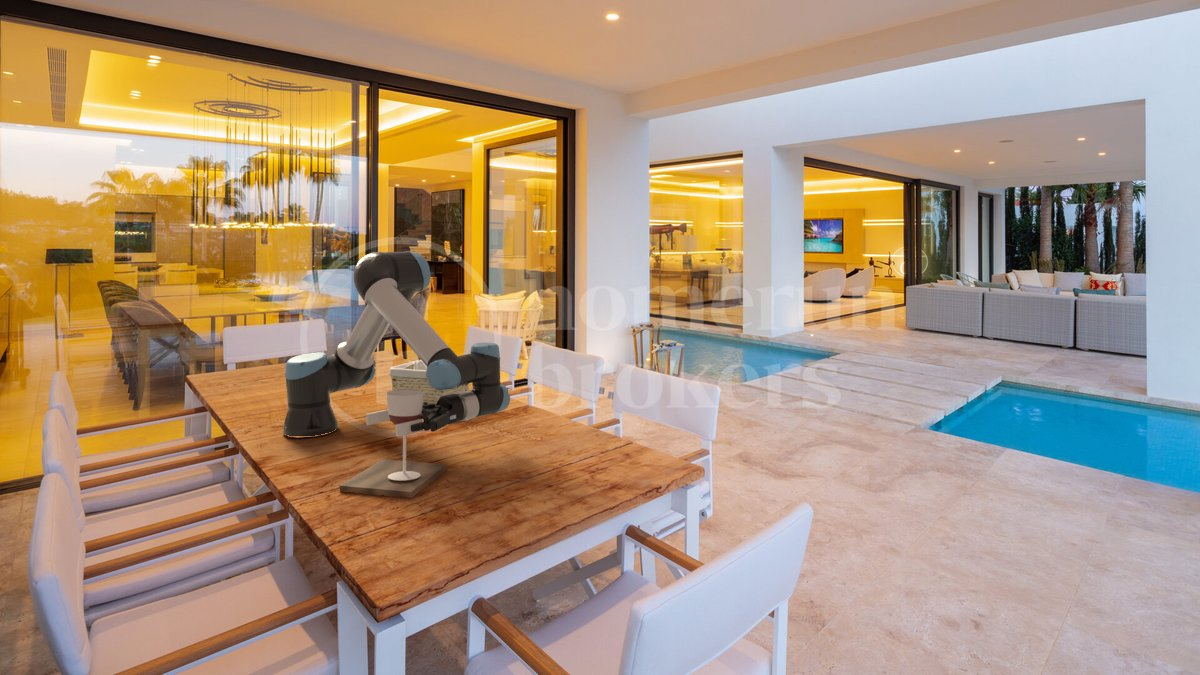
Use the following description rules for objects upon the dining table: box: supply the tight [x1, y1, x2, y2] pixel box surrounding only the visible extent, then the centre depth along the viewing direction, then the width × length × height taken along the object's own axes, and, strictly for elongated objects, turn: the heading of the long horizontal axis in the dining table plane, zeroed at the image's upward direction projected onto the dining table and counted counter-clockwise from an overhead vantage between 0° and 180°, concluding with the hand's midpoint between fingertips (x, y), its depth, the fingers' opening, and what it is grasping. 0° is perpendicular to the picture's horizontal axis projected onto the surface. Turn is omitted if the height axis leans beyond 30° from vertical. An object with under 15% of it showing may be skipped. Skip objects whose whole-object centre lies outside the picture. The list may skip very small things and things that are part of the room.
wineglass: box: [386, 390, 423, 481], centre depth 148 cm, size 8×9×20 cm
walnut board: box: [339, 458, 448, 499], centre depth 151 cm, size 18×18×2 cm
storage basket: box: [389, 359, 470, 405], centre depth 219 cm, size 24×16×15 cm
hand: (381, 425), depth 147 cm, fingers open, 13 cm apart
